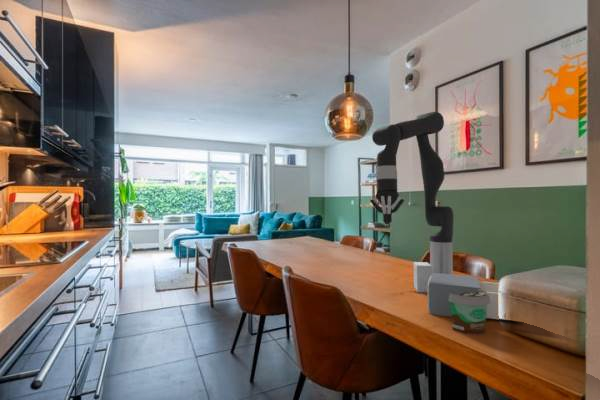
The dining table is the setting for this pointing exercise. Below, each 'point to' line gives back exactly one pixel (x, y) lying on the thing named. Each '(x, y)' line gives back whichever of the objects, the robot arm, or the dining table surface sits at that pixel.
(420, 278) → the small box
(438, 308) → the sleeve
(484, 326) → the food container
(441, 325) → the dining table surface
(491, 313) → the white cuboid
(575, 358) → the dining table surface
